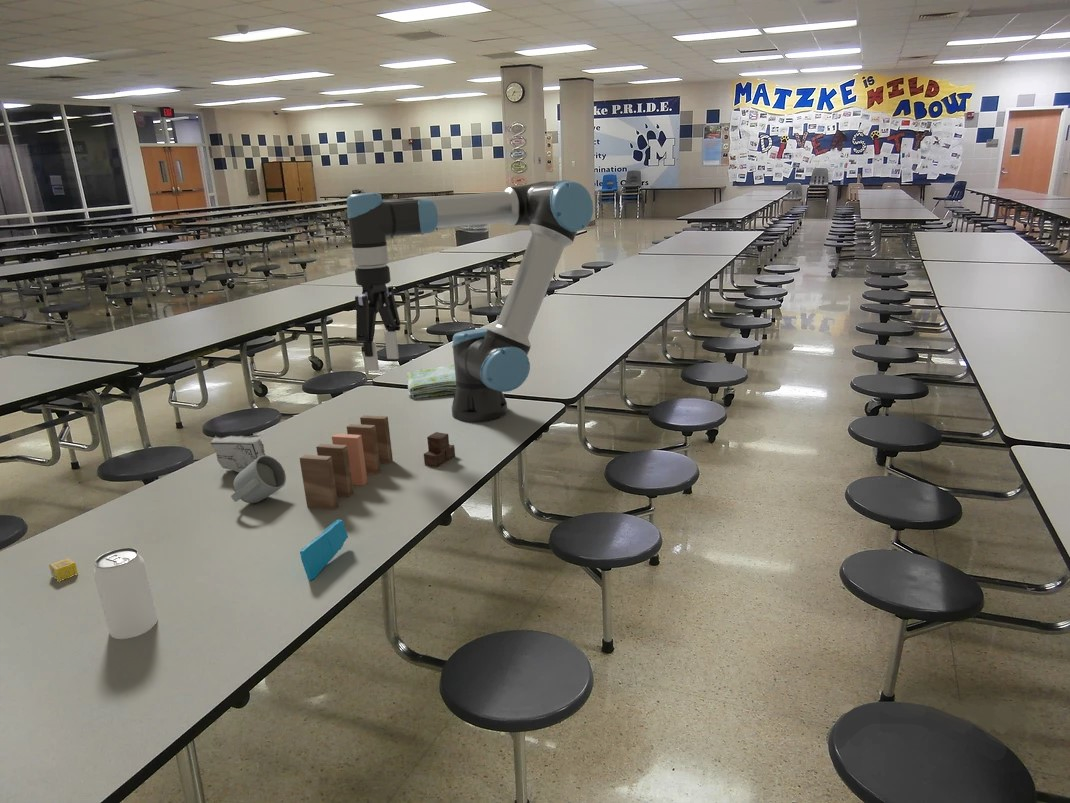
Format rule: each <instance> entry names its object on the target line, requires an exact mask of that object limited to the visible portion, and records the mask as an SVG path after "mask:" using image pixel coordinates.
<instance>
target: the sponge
mask: <svg viewBox="0 0 1070 803" xmlns="http://www.w3.org/2000/svg"><path fill="white" fill-rule="evenodd" d="M347 532H348V531H347V530H346V527H345V523H344V520H342V519H336V520H335V521H333V522H332V523H331V524H329V525H328V526H326V528H325V529H324V530H323V531H322V532H321V533H320V534H319V535H318V536H317V537H315V538H314V539H313V540H311V541H310V542H309V543H308V544H306V546H304V547H303V548H301V549H300V551H299V555H300V559H301V563H302V566H303V567H304V571H305V575H306V578H307V579H308V581H312V580H315V578H317V576H318V575H319V574H320V573H321V572H322V570H323V569H324V567H325V566H327V565H328V564H329V562H331V560H333V558H334V557H335V556H336V555H337V554H338V552H339V551H340V550H341V549H342V548H343V546H344V545H345V544H344V543H345V542H346V540H347V539H348V537H349V536H348V533H347Z"/></svg>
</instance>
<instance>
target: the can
mask: <svg viewBox="0 0 1070 803" xmlns="http://www.w3.org/2000/svg"><path fill="white" fill-rule="evenodd" d="M94 566H95V567H94V570H93V576H94V581H95V585H96V588H97V592H98V596H99V600H100V603H101V604H100V605H101V608H102V611H103V615H104V618H105V622H106V626H107V629H108V633H109V636H110V637H111V638H114V639H116V640H117V639H118V640H125V639H132V638H135V637H139V636H141V635H144V634H145V633H147V632H148V631H150V630H152V629H153V628H154V627H155V626H156V625H155V624H157V623H158V620H159V618H158V613H157V608H156V605H155V600H154V596H153V593H152V588H151V585H150V581H149V575H148V572H147V567H146V564H145V560H144V558H143V557H142V556H141V555H140V554H139V550H138V549H136V548H134V547H121V548H117V549H113V550H110V551H107V552H105V553H103V554H102V555H100V556H99V557H97V558H96V559H95V561H94ZM154 625H155V626H154ZM153 626H154V627H153ZM152 627H153V628H152Z"/></svg>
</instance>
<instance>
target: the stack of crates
mask: <svg viewBox="0 0 1070 803" xmlns="http://www.w3.org/2000/svg"><path fill="white" fill-rule="evenodd" d="M426 438H427V448H428V451H426V452H424V453H423V461H424V463H423V464H424V466H427V465H428V467H432V466H433V468H439V466H441V464H442V465H443V464H446V463H447V462H448V461H450V460H452V459H454V458H455V457H456V448H455V444H450V440H449V438H450V437H449V433H444V432H438V431H436V432H433V433H432V434H430V435H428V436H427V437H426ZM446 461H447V462H446Z"/></svg>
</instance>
